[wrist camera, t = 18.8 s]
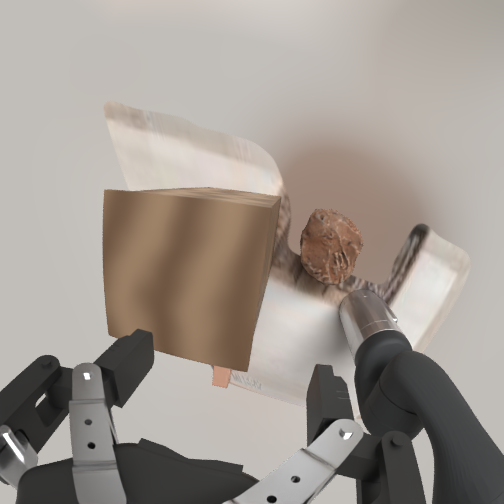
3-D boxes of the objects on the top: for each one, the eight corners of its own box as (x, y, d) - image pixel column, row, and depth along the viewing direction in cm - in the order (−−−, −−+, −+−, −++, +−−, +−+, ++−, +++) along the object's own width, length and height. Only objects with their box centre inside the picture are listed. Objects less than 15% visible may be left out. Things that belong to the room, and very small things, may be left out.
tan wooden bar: (239, 298, 57) (236, 305, 53) (230, 379, 62) (227, 388, 59) (223, 295, 57) (219, 302, 54) (215, 376, 62) (212, 384, 59)
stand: (283, 195, 51) (271, 208, 20) (272, 269, 55) (247, 372, 24) (207, 185, 53) (104, 190, 21) (200, 257, 56) (108, 335, 25)
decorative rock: (304, 202, 51) (307, 205, 42) (360, 212, 50) (376, 218, 40) (293, 269, 54) (293, 286, 45) (347, 277, 53) (358, 296, 44)
